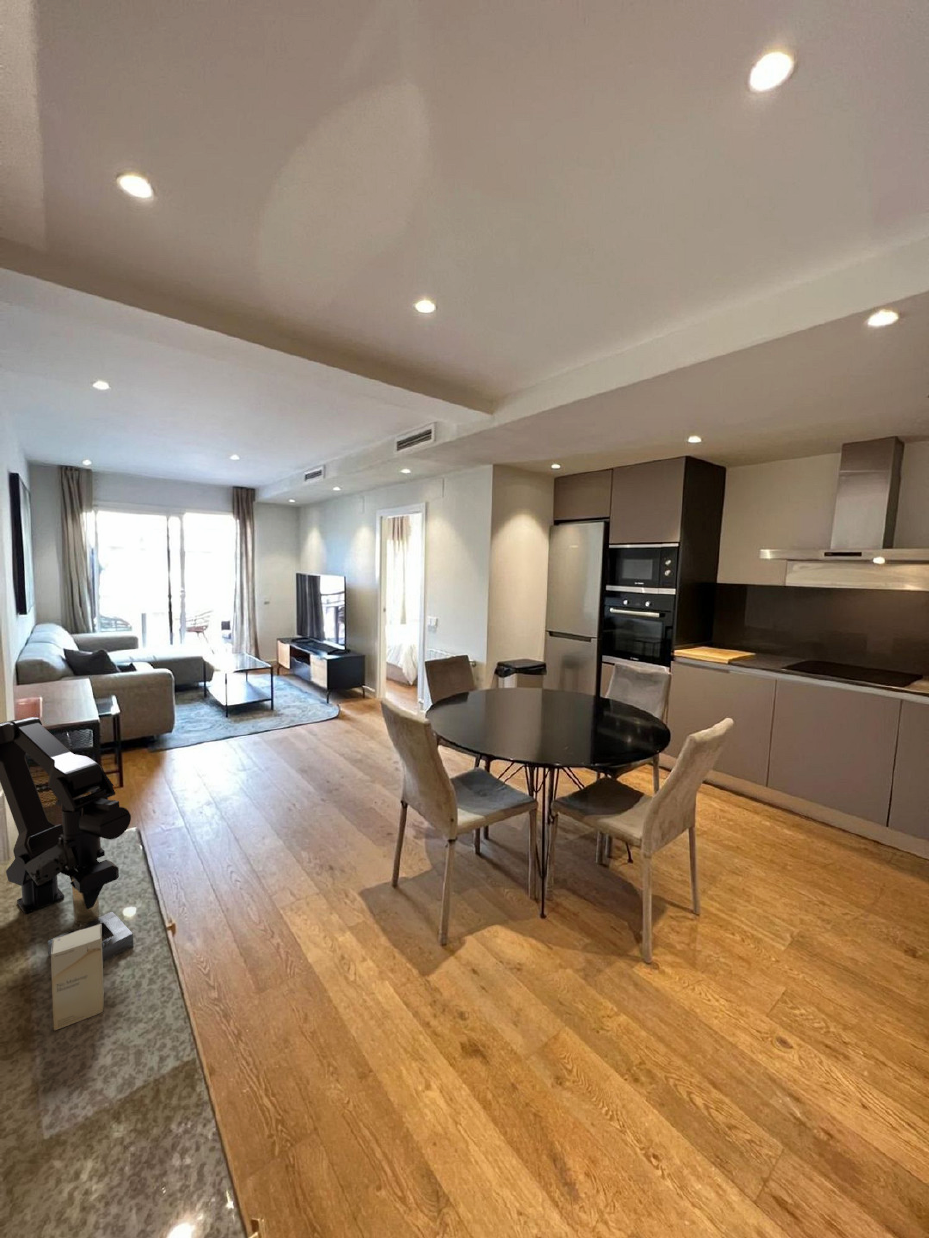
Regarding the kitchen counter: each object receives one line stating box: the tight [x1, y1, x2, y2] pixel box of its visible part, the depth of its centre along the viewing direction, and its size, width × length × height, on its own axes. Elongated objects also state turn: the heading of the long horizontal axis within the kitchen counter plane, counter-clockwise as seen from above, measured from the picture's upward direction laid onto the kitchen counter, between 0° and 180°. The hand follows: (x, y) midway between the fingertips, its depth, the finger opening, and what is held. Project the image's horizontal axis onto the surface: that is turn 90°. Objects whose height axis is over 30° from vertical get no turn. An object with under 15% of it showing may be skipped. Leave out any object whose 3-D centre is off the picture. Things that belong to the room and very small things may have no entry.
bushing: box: [71, 875, 100, 926], centre depth 99 cm, size 4×4×9 cm
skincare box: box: [50, 924, 105, 1031], centre depth 77 cm, size 6×4×12 cm
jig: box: [47, 911, 134, 963], centre depth 90 cm, size 10×10×2 cm
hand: (86, 903), depth 99 cm, fingers closed on bushing, 4 cm apart
